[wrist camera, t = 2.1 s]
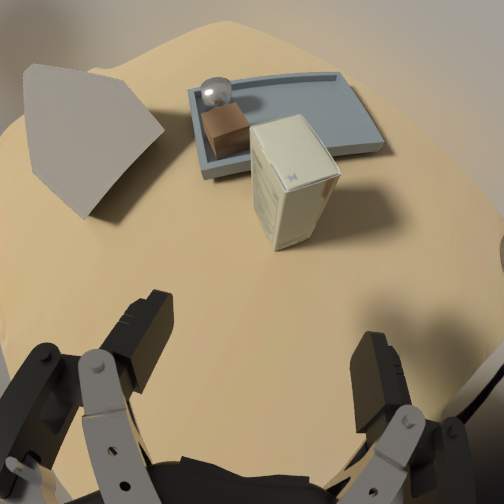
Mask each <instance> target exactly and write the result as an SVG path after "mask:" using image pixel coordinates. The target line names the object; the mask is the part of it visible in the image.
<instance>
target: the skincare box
mask: <svg viewBox="0 0 504 504" xmlns="http://www.w3.org/2000/svg"><path fill="white" fill-rule="evenodd" d="M250 150H251V178H252V204H253V206H254V209H255V211H256V213H257V216H258V218H259V220H260V223H261V225H262V227H263V229H264V231H265V233H266V236H267V238H268V240H269V242H270V244H271V246H272V248H273V250H274V251H277V250H280V249H283V248H286V247H288V246H291V245H294V244H296V243H299V242H301V241H304V240H306V239H308V238H310V237H311V235H312V233H313V231H314V229H315V227H316V225H317V223H318V221H319V219H320V217H321V215H322V213H323V211H324V209H325V207H326V205H327V202H328V200H329V198H330V196H331V194H332V192H333V190H334V188H335V186H336V184H337V181H338V179H339V177H340V175H341V172H340V170H339V168H338V166H337V165H336V163H335V161H334V160H333V158H332V156H331V155H330V153H329V152H328V150H327V149H326V147H325V146H324V144H323V143H322V141H321V140H320V138H319V137H318V136H317V134H316V133H315V132H314V130H313V129H312V127H311V126H310V125H309V124H308V122H307V121H306V120H305V119H304V117H303V116H302V115H301V114H298V115H293V116H288V117H284V118H279V119H275V120H271V121H266V122H262V123H259V124H255V125H251V126H250Z"/></svg>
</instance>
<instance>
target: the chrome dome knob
mask: <svg viewBox="0 0 504 504" xmlns="http://www.w3.org/2000/svg"><path fill="white" fill-rule="evenodd" d="M201 93H202V98H203V104H204V109H205V112H207V111H210V110H213V109H216V108H219V107H222V106H225V105H228V104H232V103H233V100H232V87H231V82H230V81H229V80H228V79H226V78H222V77H215V78H211V79H208V80H206V81H205V82H203V84H202V85H201Z"/></svg>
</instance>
